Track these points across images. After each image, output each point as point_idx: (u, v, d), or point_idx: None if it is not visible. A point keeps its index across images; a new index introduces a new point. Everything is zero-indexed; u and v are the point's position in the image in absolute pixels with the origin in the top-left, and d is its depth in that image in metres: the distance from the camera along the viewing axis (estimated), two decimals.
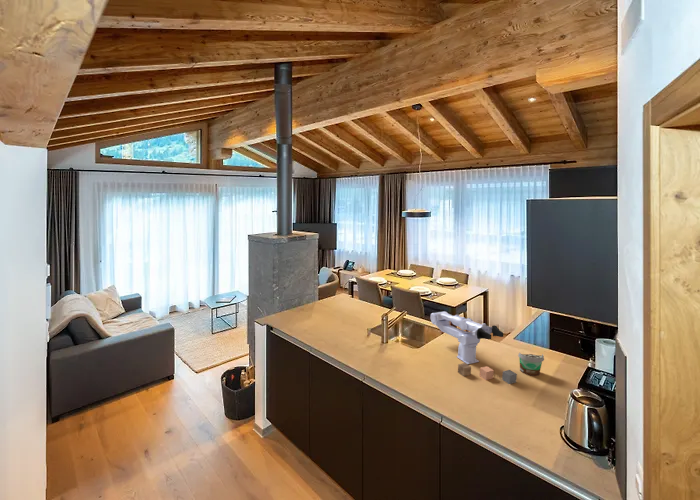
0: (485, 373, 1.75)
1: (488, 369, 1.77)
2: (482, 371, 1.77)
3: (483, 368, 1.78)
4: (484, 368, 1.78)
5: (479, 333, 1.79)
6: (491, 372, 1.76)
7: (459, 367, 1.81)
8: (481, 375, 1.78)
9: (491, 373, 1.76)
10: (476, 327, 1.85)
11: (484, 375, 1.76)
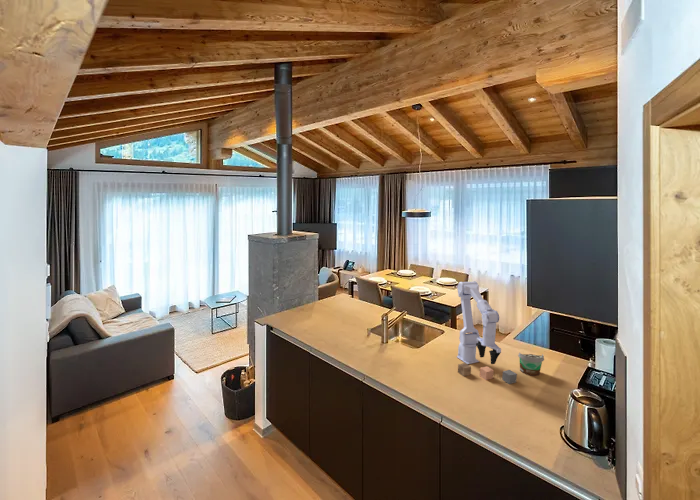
0: (485, 373, 1.75)
1: (488, 369, 1.77)
2: (482, 371, 1.77)
3: (483, 368, 1.78)
4: (484, 368, 1.78)
5: None
6: (491, 372, 1.76)
7: (459, 367, 1.81)
8: (481, 375, 1.78)
9: (491, 373, 1.76)
10: None
11: (484, 375, 1.76)
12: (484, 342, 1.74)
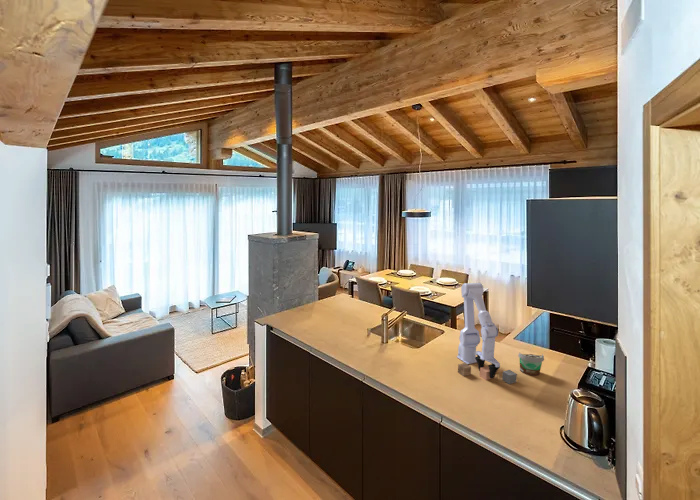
0: (485, 373, 1.75)
1: (488, 369, 1.77)
2: (482, 371, 1.77)
3: (483, 368, 1.78)
4: (484, 368, 1.78)
5: None
6: None
7: (459, 367, 1.81)
8: (481, 375, 1.78)
9: None
10: None
11: (484, 375, 1.76)
12: (483, 356, 1.75)
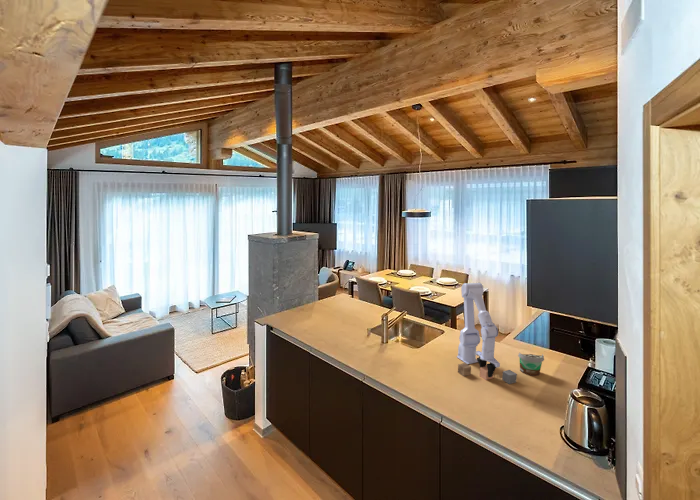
0: (485, 373, 1.75)
1: None
2: (482, 371, 1.77)
3: (483, 368, 1.78)
4: (484, 368, 1.78)
5: None
6: None
7: (459, 367, 1.81)
8: (481, 375, 1.78)
9: None
10: None
11: (484, 374, 1.76)
12: (483, 356, 1.75)
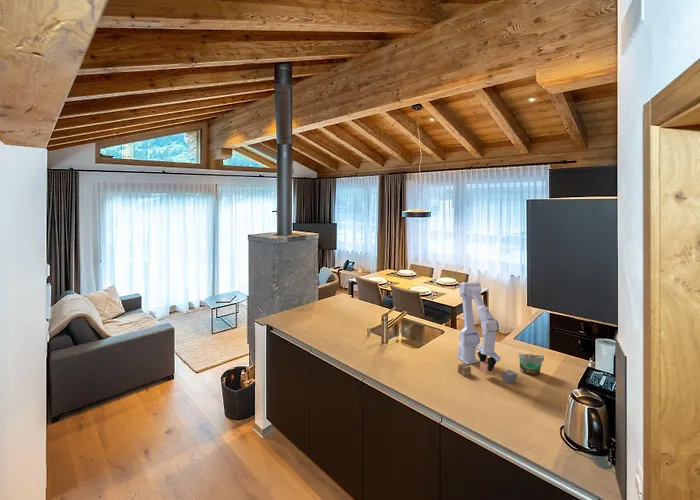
0: (485, 367, 1.75)
1: None
2: (482, 365, 1.77)
3: (483, 362, 1.77)
4: (484, 362, 1.77)
5: None
6: None
7: (459, 367, 1.81)
8: (481, 369, 1.77)
9: None
10: None
11: (485, 369, 1.75)
12: (483, 350, 1.74)
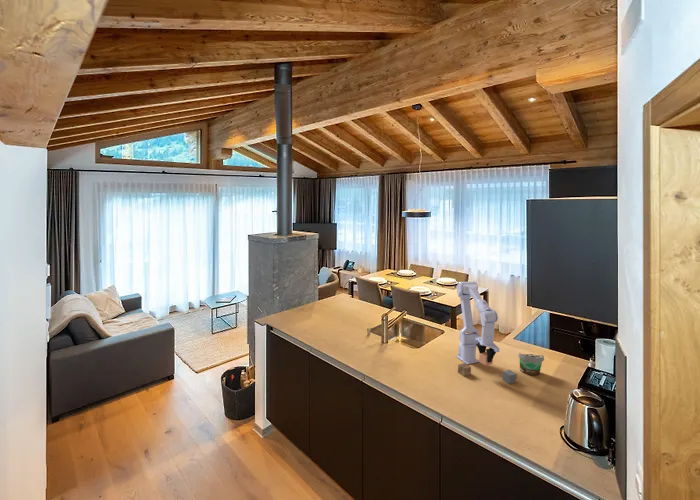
0: (485, 358, 1.75)
1: None
2: (481, 356, 1.77)
3: (483, 353, 1.77)
4: (484, 353, 1.77)
5: None
6: None
7: (459, 367, 1.81)
8: (481, 360, 1.77)
9: None
10: None
11: (484, 360, 1.75)
12: (483, 342, 1.75)
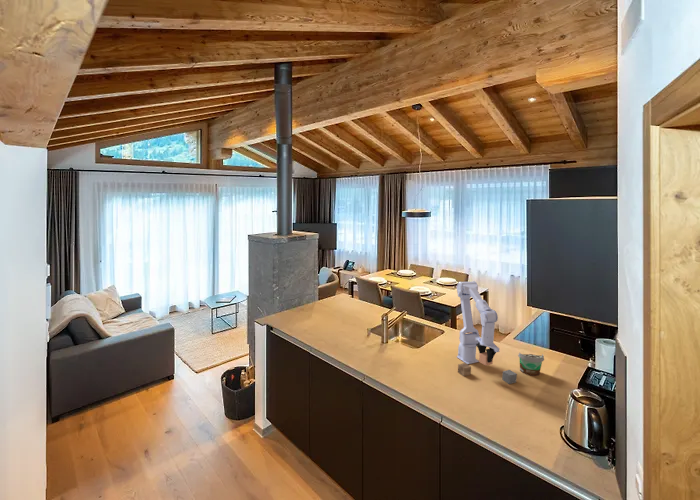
0: (485, 358, 1.75)
1: None
2: (481, 356, 1.77)
3: (483, 353, 1.77)
4: (484, 353, 1.77)
5: None
6: None
7: (459, 367, 1.81)
8: (481, 360, 1.77)
9: None
10: None
11: (484, 360, 1.75)
12: (483, 342, 1.75)
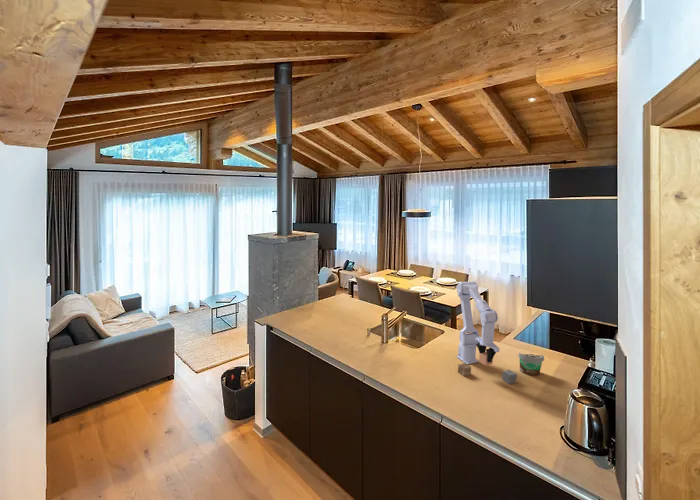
0: (485, 358, 1.75)
1: None
2: (481, 356, 1.77)
3: (483, 353, 1.77)
4: (484, 353, 1.77)
5: None
6: None
7: (459, 367, 1.81)
8: (481, 360, 1.77)
9: None
10: None
11: (484, 360, 1.75)
12: (483, 342, 1.75)
